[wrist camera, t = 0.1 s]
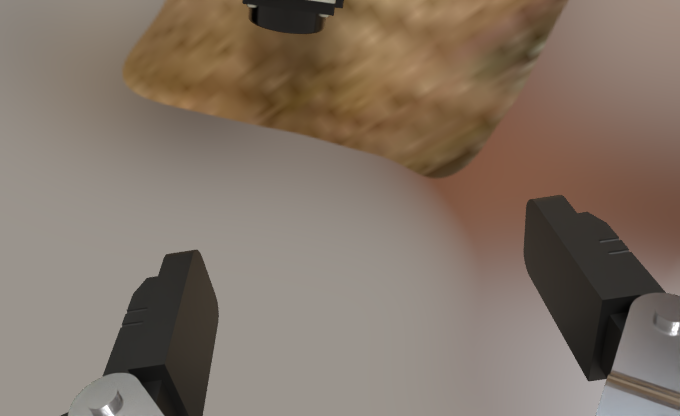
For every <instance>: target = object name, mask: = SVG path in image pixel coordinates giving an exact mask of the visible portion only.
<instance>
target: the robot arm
mask: <svg viewBox="0 0 680 416" xmlns="http://www.w3.org/2000/svg"><path fill="white" fill-rule="evenodd" d="M524 259H525V264H526V268H527V271H528V274H529V276H530V278H531V280H532V281H533V283H534V285H535V287H536V288H537V290H538V292H539V294H540V296H541V297H542V299H543V301H544V303H545V305H546V306H547V308H548V310H549V312H550V314H551V315H552V317H553V319H554V321H555V322H556V324H557V326H558V328H559V330H560V332H561V333H562V335H563V337H564V339H565V340H566V342H567V344H568V346H569V348H570V350H571V351H572V353H573V355H574V357H575V359H576V360H577V362H578V364H579V366H580V367H581V369H582V371H583V373H584V375H585V376H586V378H587V380H588V381H594V380H602V379H607V380H606V383H605V386H604V390H603V393H602V396H601V400H600V403H599V406H598V410H597V413H596V416H680V296H678V295H675V294H669V293H666V292H665V291H664V290H663V289H662V288H661V286H660V285H659V284H658V283H657V282H656V280H655V279H654V278H653V277H652V276H651V275H650V273H649V272H648V271H647V270H646V269H645V268H644V266H643V265H642V264H641V263H640V262H639V260H638V259H637V258H636V257H635V256H634V255H633V253H632V252H629V249H628V248H627V246H626V245H625V244H624V243H623V242H622V240H619V237H618V236H617V235H616V233H615V232H614V231H613V230H612V229H611V228H610V226H609V225H608V224H607V223H606V222H604V221H602V220H601V219H599V218H597V217H595V216H594V215H592V214H590V213H588V212H583V213H576V211H575V210H574V209H573V207H572V206H571V205H570V204H569V202H568V201H567V200H566V198H565V197H564V196H562V195H556V196H550V197H543V198H537V199H530V200H529V201H528V202H527V207H526V221H525V237H524ZM218 314H219V313H218V303H217V299H216V295H215V292H214V290H213V287H212V284H211V281H210V278H209V275H208V272H207V270H206V267H205V264H204V261H203V259H202V256H201V254H200V252H199V251H198V250H191V251H185V252H179V253H171V254H166V255H165V257H164V259H163V263H162V266H161V269H160V272H159V275H158V276H157V277H150V278H147V279H146V280H145V281H144V282H143V283H142V284H141V286H140V287H139V288H138V289H137V290H136V291H135V292H134V294H133V296H132V299H131V301H130V304H129V307H128V310H127V314H126V315H125V317H124V320H123V323H122V328H120V331H119V333H118V336H117V339H116V342H115V344H114V347H113V350H112V352H111V355H110V358H109V360H108V363H107V366H106V369H105V371H104V374H103V377H101V378H99V379H97V380H95V381H93V382H92V383H91V384H89V385H88V386H86V387H85V388H84V389H83V390H82V391H81V392H80V393H79V394H78V395H77V396H76V398H75V399H74V400H73V402H72V404H71V406H70V409H69V412H68V413H66V414H63V415H61V416H203V410H204V404H205V398H206V391H207V386H208V380H209V374H210V367H211V362H212V355H213V350H214V344H215V338H216V332H217V326H218V317H219V315H218Z"/></svg>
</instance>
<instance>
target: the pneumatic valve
mask: <svg viewBox="0 0 680 416" xmlns="http://www.w3.org/2000/svg"><path fill="white" fill-rule="evenodd" d="M343 1H344V0H243V4H247V6H248V7H249V20H250V21H251V22H252V23H254V24H255V25H257V26H260V27H262V28H265V29H269V30H273V31H278V32H284V33H293V34H311V33H317V32H320V31H322V30H323V29H324V27H325V20H326V17H329V15H332V16H333V15H334V9H335V7H336V8H343Z"/></svg>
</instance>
